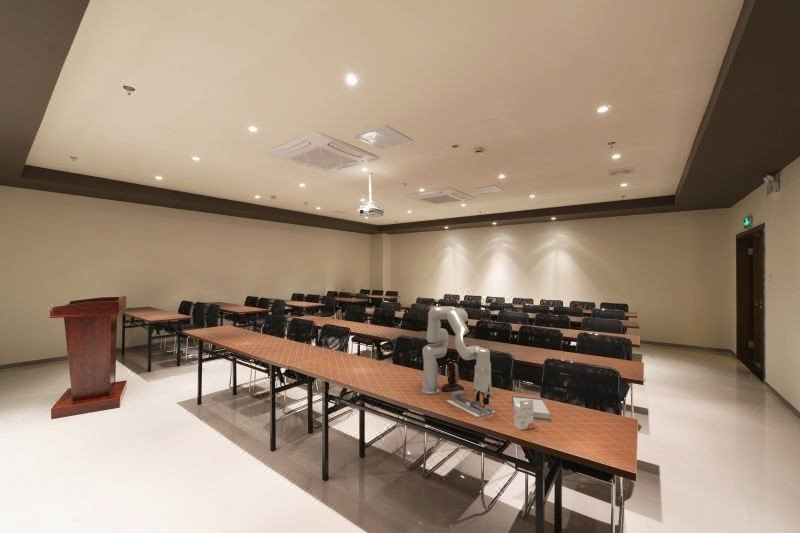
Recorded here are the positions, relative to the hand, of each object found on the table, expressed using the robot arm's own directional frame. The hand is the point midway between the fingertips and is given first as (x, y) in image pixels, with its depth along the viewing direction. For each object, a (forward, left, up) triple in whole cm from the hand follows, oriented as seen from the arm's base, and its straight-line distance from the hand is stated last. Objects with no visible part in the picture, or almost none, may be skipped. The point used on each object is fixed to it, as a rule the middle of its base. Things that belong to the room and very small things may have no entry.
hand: (482, 402), depth 192 cm
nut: (-16, 0, -6) cm, 17 cm away
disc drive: (+10, +28, -8) cm, 31 cm away
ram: (-2, 0, -5) cm, 6 cm away
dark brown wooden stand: (-40, +12, -7) cm, 42 cm away
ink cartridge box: (+22, +8, -7) cm, 24 cm away
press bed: (-11, 0, -7) cm, 13 cm away
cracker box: (-24, +24, -7) cm, 35 cm away
